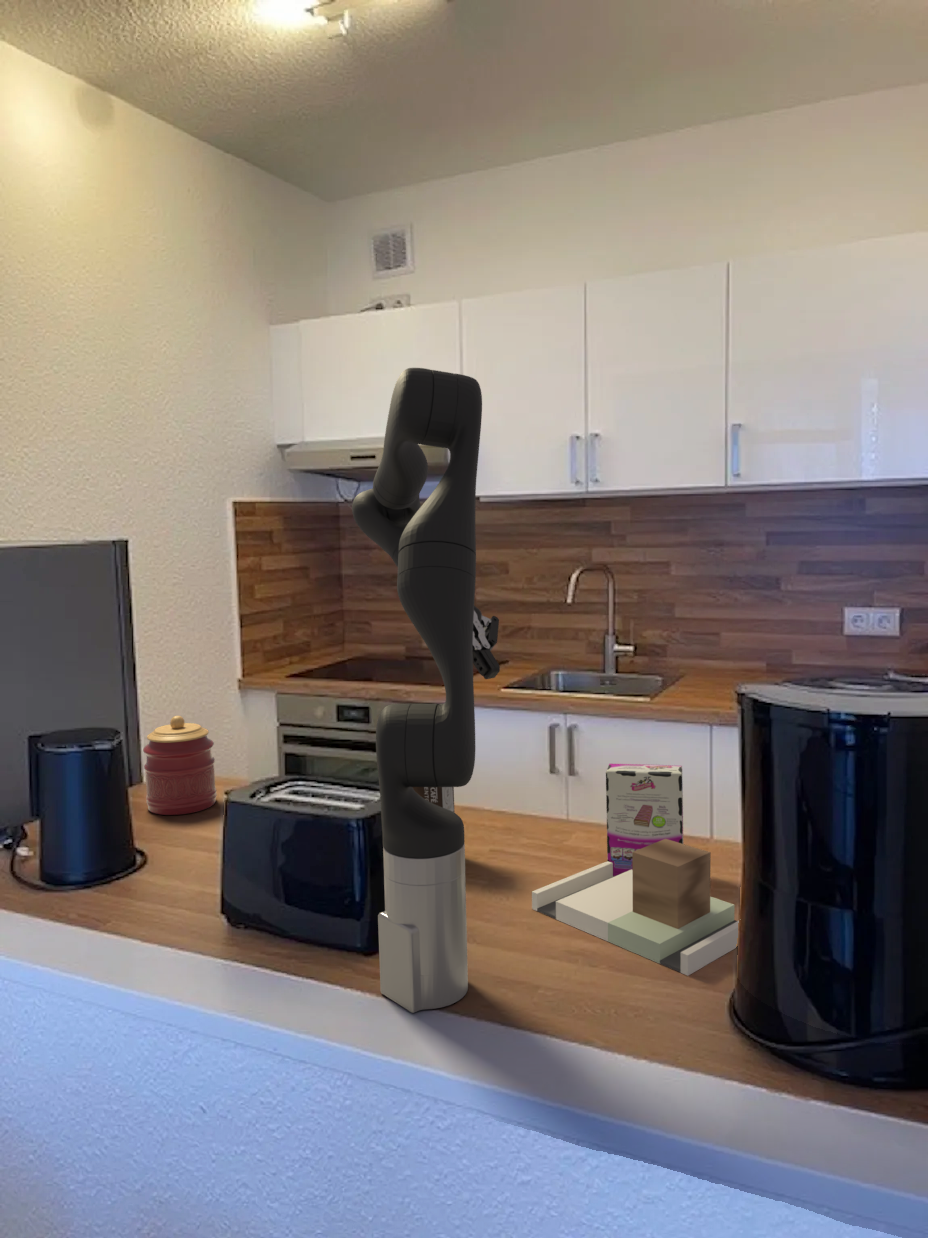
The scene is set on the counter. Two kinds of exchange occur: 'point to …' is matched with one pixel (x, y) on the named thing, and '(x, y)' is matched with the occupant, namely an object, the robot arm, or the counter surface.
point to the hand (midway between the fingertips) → (493, 675)
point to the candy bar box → (641, 809)
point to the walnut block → (671, 882)
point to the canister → (179, 769)
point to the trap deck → (636, 920)
